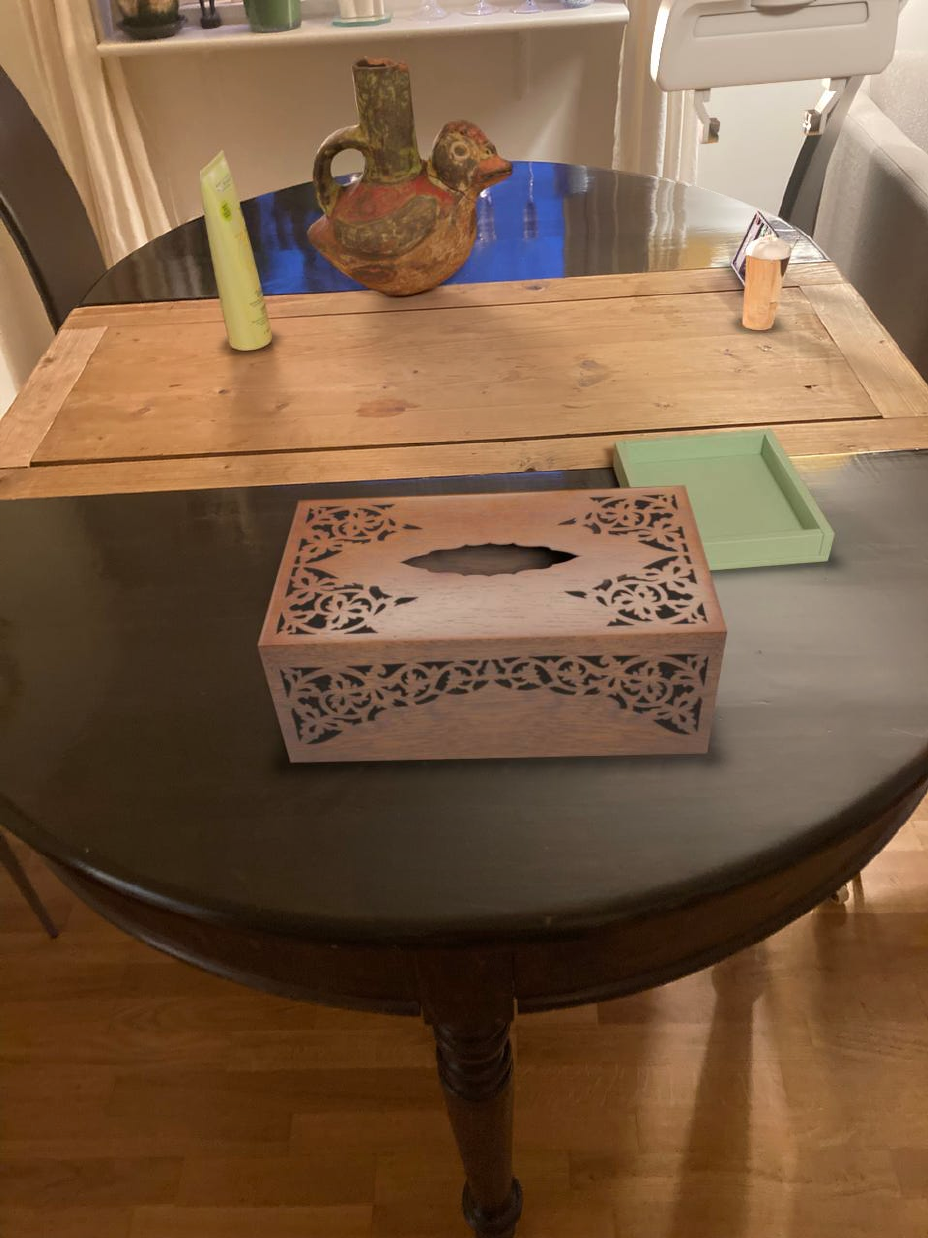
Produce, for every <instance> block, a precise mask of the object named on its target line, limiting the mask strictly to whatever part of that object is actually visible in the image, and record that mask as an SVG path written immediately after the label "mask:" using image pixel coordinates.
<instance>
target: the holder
mask: <svg viewBox="0 0 928 1238" xmlns="http://www.w3.org/2000/svg"><path fill="white" fill-rule="evenodd" d="M612 464H613V465H612V467H613V470H614V474H615V476H616V481H617V482H618V485H619V488H627V487H653V486H679V485H685V486H686V489H687V493H688V496H689V500H690V503H691V507H692V510H693V514H694V517H695V521H696V524H697V528H698V531H699V535H700V538H701V542H702V545H703V549H704V552H705V556H706V559H707V563H708V566H709V570H710V571H719V570H720V571H722V570H723V571H724V570H734V569H746V568H758V567H759V568H761V567H774V566H785V565H799V564H809V563H822V562H823V563H824V562H828V561H829V558H830V554H831V552H832V551H831V550H832V546H833V542H834V538H835V535H836V534H835V531H834V530H833V528H832V527H831V525H830V523H829V522H828V520H827V518H826V517H825V515H824V514H823V511H822V510H821V509H820V507H819V505H818V503H817V502H816V500H815V499H814V497H813V495H812V494H811V492H810V490H809V489H808V487H807V486H806V484H805V482H804V480H803V479H802V477H801V476H800V473H799V472H798V471H797V469H796V467H795V465H794V464H793V462H792V460H791V459H790V457H789V456H788V454H787V452H786V450H785V449H784V447H783V446H782V444H781V442H780V440H779V439H778V437H777V436H776V434H775V432H774V431H773V429H772V428H764V429H761V428H760V429H747V430H736V431H735V430H734V431H721V432H711V433H710V432H709V433H699V434H697V433H696V434H687V435H686V434H685V435H673V436H661V437H649V438H648V437H647V438H635V439H624V440H623V439H622V440H614V443H613V463H612Z"/></svg>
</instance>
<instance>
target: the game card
mask: <svg viewBox="0 0 928 1238" xmlns="http://www.w3.org/2000/svg"><path fill="white" fill-rule="evenodd" d="M760 237H772V238H780V235H779V234H778V232H777V231H776V230H775V229H774V227H773V226H772V225H771V224H770V222H769V221H768V220H767V219H766V217H765V216H764V215H763V214H762V212H760V211H759V210H756V211H755V212H754V214H753V215H752V218H751V221H750V222H749V225H748V227H747V229H746V231H745V233H744V235H743V237H742V240H741V242H740V244H739V246H738V248H737V251H736V252H735V255H734V256H733V259H732V261H731V263H730V266H731V268H732V269H733V272H735V274H736V275H737V277H738V279H739V280H740V281H741V283H742V285H743V286H744V287H745V275H744V274H743V270H744V268H745V267H746V250H747V247H748V246H749V245H750V243H751V242H753V241H754V240H756V239H758V238H760Z"/></svg>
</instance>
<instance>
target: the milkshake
mask: <svg viewBox="0 0 928 1238" xmlns="http://www.w3.org/2000/svg"><path fill="white" fill-rule="evenodd" d="M801 237H802V235H800V236H798V238H796V241H795V242H794V244H793V246H791V244H789V243H788V241H786V240H784V239H782V238H781V237H779V238H775V237H774V238H772V237H761V236H759V237H758V239H756V240H754V241H753V242H751V243H750V245H749V246H748V247H747V250H746V264H745V275H744V277H745V286H744V290H743V291H744V293H743V307H742V325H743V327H745V328H746V329H749V330H753V331H766V330H768V329H771V328H773V325H774V322H775V319H776V314H777V311H778V306H779V301H780V298H781V293H782V289H783V285H784V281H785V279H786V274H787V271H788V267H789V264H790V260H791V257H792V252H793V250H794V248H795V247H796V245H797V244H798V242H799V240H800V239H801Z"/></svg>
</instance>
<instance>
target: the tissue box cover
mask: <svg viewBox="0 0 928 1238" xmlns="http://www.w3.org/2000/svg"><path fill="white" fill-rule="evenodd" d="M715 587H716V586H715V583H714V581H713V577H712V574H711V570H709V566H708V563H707V559H706V556H705V552H704V549H703V545H702V542H701V538H700V535H699V531H698V528H697V524H696V521H695V517H694V514H693V510H692V507H691V503H690V500H689V496H688V493H687V489H686V486H685V485H679V486H653V487H627V488H620V487H604V488H603V487H602V488H580V489H579V488H578V489H555V490H554V489H552V490H550V489H549V490H529V491H527V490H526V491H503V492H502V491H500V492H477V493H476V492H475V493H474V492H473V493H449V494H425V495H424V494H421V495H398V496H374V497H372V496H371V497H348V498H347V497H346V498H320V499H299V500H298V501H297V505H296V509H295V511H294V516H293V518H292V523H291V525H290V530H289V534H288V536H287V540H286V543H285V548H284V551H283V553H282V557H281V561H280V564H279V569H278V572H277V575H276V578H275V583H274V585H273V589H272V592H271V597H270V600H269V603H268V607H267V609H266V610H267V611H266V614H265V618H264V621H263V624H262V628H261V631H260V632H261V633H260V635H259V639H258V643H257V649H258V652H259V656H260V660H261V664H262V667H263V670H264V674H265V677H266V680H267V685H268V688H269V691H270V694H271V698H272V702H273V705H274V709H275V712H276V716H277V719H278V723H279V726H280V730H281V733H282V738H283V740H284V744H285V748H286V751H287V755H288V758H289V761H290V763H331V762H334V763H335V762H372V761H373V762H374V761H375V762H377V761H417V760H419V761H421V760H422V761H423V760H463V759H464V760H466V759H469V760H470V759H509V758H510V759H513V758H514V759H515V758H556V757H557V758H559V757H560V758H561V757H600V756H601V757H603V756H604V757H605V756H650V755H651V756H652V755H653V756H654V755H691V754H693V755H696V754H697V755H698V754H699V755H700V754H707V753H708V747H709V742H710V737H711V731H712V724H713V719H714V712H715V707H716V701H717V695H718V691H719V690H718V689H719V683H720V677H721V670H722V667H723V666H722V665H723V659H724V654H725V650H726V649H725V648H726V643H727V636H728V629H727V625H726V622H725V619H724V615H723V613H722V612H723V611H722V608H721V605H720V604H721V603H720V601H719V597H718V594H717V591H716V588H715Z"/></svg>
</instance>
